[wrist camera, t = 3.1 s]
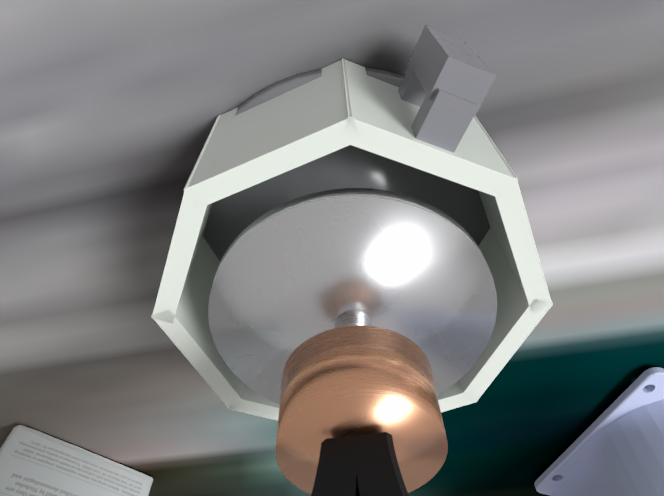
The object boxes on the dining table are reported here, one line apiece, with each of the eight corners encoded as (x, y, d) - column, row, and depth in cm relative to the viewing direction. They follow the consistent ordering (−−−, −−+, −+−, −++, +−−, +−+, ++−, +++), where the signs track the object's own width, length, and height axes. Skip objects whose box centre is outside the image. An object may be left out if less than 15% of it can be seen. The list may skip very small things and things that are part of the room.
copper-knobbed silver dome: (416, 427, 18) (441, 571, 14) (183, 370, 16) (141, 516, 12) (548, 243, 14) (633, 376, 10) (257, 143, 12) (228, 258, 8)
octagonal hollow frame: (415, 358, 23) (435, 461, 19) (165, 290, 21) (126, 389, 17) (591, 88, 17) (679, 154, 13) (257, -53, 14) (230, -30, 10)
